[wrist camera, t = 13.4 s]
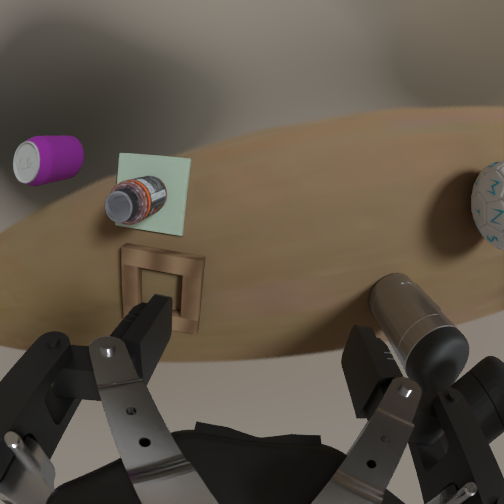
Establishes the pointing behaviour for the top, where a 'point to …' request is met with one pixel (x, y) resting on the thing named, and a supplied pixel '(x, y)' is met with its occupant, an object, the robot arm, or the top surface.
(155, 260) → the socket block
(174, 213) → the pad
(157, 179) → the supplement bottle
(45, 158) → the beverage can
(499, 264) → the top surface
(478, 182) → the puzzle ball
